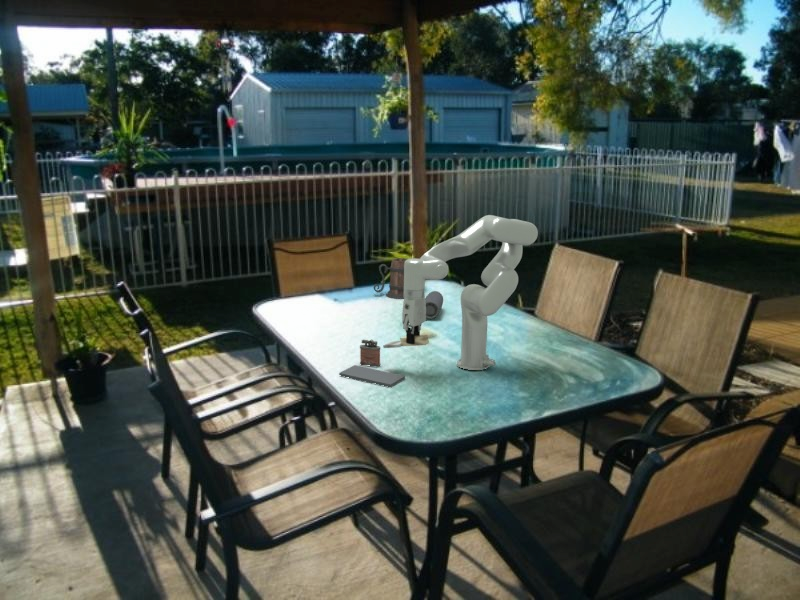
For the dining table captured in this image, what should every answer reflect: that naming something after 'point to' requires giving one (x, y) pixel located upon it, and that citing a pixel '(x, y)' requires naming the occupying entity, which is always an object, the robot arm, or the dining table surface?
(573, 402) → the dining table surface
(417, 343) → the turner
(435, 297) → the bluetooth speaker
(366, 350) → the lighter
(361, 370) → the mat
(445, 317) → the dining table surface
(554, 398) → the dining table surface
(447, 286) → the dining table surface
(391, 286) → the tankard
